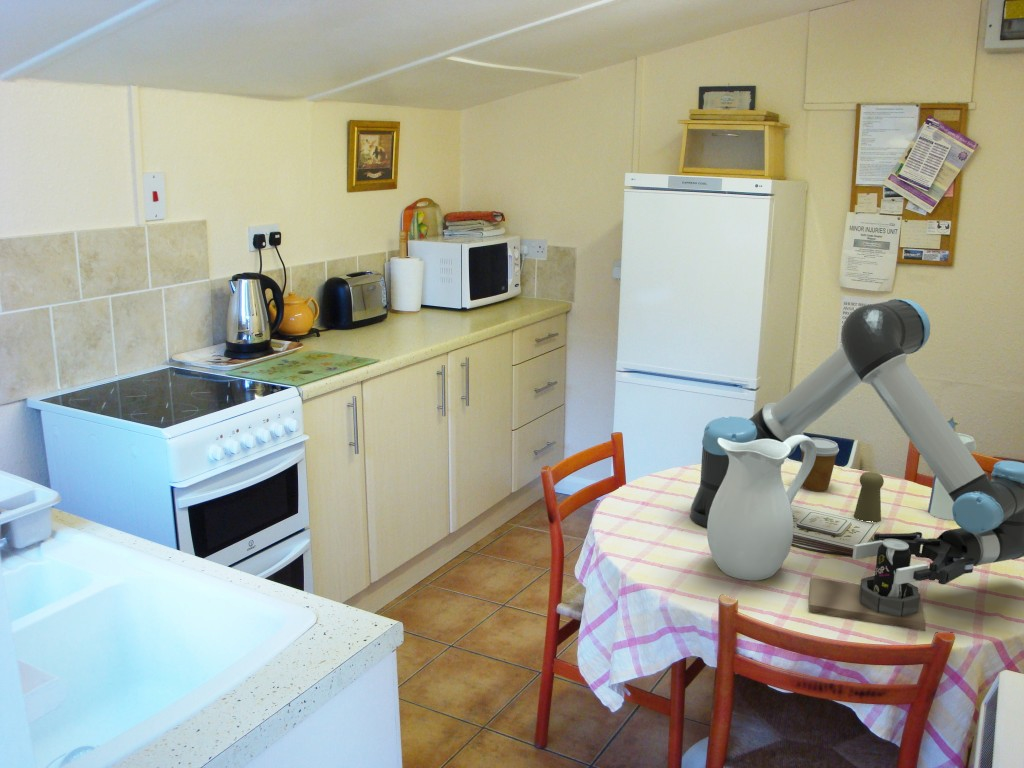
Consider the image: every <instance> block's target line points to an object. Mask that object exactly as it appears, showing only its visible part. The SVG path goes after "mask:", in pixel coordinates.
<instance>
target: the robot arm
mask: <svg viewBox="0 0 1024 768" xmlns="http://www.w3.org/2000/svg"><path fill="white" fill-rule="evenodd" d="M840 335H841V336H840V340H841V341H840V342H841V346H839V348H838V349H836V350H835V351H834V352H833V353H832V354H831V355H830V356H828V357H827V358H826V359H825V360H824V361H823V362H822V363H820V365H818V367H816V368H815V369H814V370H813V371H812V372H811V373H810V374H808V375H807V376H806V377H805V378H804V379H803V380H802V381H800V382H799V383H798V384H797V385H796V386H795V387H793V389H791V390H790V391H789V392H788V393H787V394H785V396H783V397H782V398H781V399H780V400H779V401H777V402H768V403H766V404H765V405H763V407H762V408H760V409H759V410H758V411H757V412H756V413H755V414H753V416H751V417H749V418H746V417H741V416H728V417H725V416H722V417H719V418H715V419H713V420H711V421H710V422H708V423H707V424H706V426H705V427H704V430H703V437H702V441H701V444H702V449H701V452H702V453H701V465H700V466H701V467H700V470H701V471H700V481H699V482H700V483H699V486H698V488H697V489H698V490H697V492H696V494H695V496H694V499H693V501H692V503H691V507H690V518H691V520H692V522H694V523H696V524H697V525H699V526H701V527H703V528H707V523H708V516H709V512H710V508H711V505H712V502H713V500H714V498H715V495H716V493H717V491H718V489H719V488H720V486H721V484H722V482H723V480H724V478H725V475H726V473H727V470H728V466H729V457H728V455H727V453H726V452H725V451H724V450H723V449H722V448H721V447H720V446H719V445H718V442H717V440H718V438H723V439H725V440H728V441H732V442H737V443H747V442H751V441H755V440H759V439H773V440H777V441H780V442H784V441H785V440H786V439H788V438H790V437H791V436H794V435H805V434H804V431H805V430H806V429H807V428H808V427H810V426H811V425H812V424H814V422H816V421H817V420H819V418H821V416H823V415H824V414H825V413H827V412H828V411H829V410H830V409H831V408H832V407H834V406H835V405H836V404H837V403H838V402H840V401H841V400H842V399H843V398H844V397H846V396H847V395H848V394H850V392H851V391H853V390H854V389H855V388H856V387H858V386H859V385H860V384H861V383H864V384H867V385H870V386H871V387H872V388H873V390H874V391H875V393H876V394H877V396H878V397H879V398H880V400H881V401H882V402H883V405H885V406H886V408H887V410H888V411H889V412H890V414H891V415H892V416H893V419H895V421H896V422H897V424H898V425H899V426H900V428H901V429H902V431H903V432H904V433H905V435H906V436H907V438H908V439H909V441H910V442H911V443H912V445H913V446H914V448H916V450H917V452H918V453H919V455H920V456H921V457H922V459H923V460H924V462H925V463H926V464H927V466H928V467H929V468H930V470H931V471H932V473H933V474H934V476H936V477H937V478H938V480H939V481H940V483H941V484H942V485H943V487H944V488H945V490H946V491H947V493H948V494H949V496H950V497H951V499H952V500H953V502H954V504H953V507H952V513H953V518H954V520H953V521H955V524H957V525H958V527H959V528H954V529H953V528H952V529H948V530H945V531H943V532H941V534H940V535H939V536H938V537H936V538H934V537H932V538H924V537H923V533H922V532H920V531H916V532H910V533H909V532H908V533H907V532H906V533H875V534H874V537H873V541H868V542H863V543H857V544H853V550H852V559H853V560H861V559H866V558H872V557H877V553H878V548H879V546H880V545H882V542H883V540H885V539H897V540H901V541H904V542H906V543H907V544H908V545H909V550H910V552H911V556H912V555H914V556H915V557H916V558H919V559H920V558H921V559H929V560H931V561H932V562H931V561H930V562H929V565H928V564H926V563H921V564H916V565H910V566H909V567H904V568H899V569H897V570H896V578H895V583H896V584H903V583H912V582H914V583H915V582H918V581H919V582H921V581H925V580H929V581H932V582H933V581H936V580H937V581H938V583H939V584H940V585H946V584H949V583H950V582H952V581H954V580H955V579H957V578H960V577H961V576H963V575H965V574H971V573H973V570H974V567H977V566H982V565H987V564H994V563H999V562H1003V561H1004V562H1005V561H1010V560H1018V559H1021V558H1024V463H1023V462H1020V461H1015V460H1000V461H997V462H995V463H994V465H993V467H992V468H993V469H992V472H991V473H990V476H991V477H990V478H989V477H988V475H987V474H986V473H985V471H984V470H983V469H982V467H981V465H980V464H979V463H978V461H977V460H976V459H975V457H974V456H973V455H972V453H970V452H969V450H968V449H967V448H966V446H965V445H964V443H963V442H962V441H961V439H960V438H959V436H958V435H957V434H956V433H957V432H956V430H955V431H954V430H953V428H952V427H951V425H950V424H949V423H948V421H947V420H948V419H947V418H946V417H945V416H944V414H943V413H942V412H941V410H940V409H939V407H938V406H937V405H936V403H935V402H934V400H933V399H932V397H931V396H930V394H929V393H928V392H927V391H926V389H925V388H924V386H923V385H922V384H921V383H920V381H919V380H918V378H917V377H916V376H915V374H914V373H913V371H912V369H910V367H909V366H908V364H907V362H906V360H907V356H908V355H911V354H915V353H916V352H918V351H919V350H920V349H922V348H923V347H924V346H925V345H926V343H927V342H928V341H929V338H930V335H931V321H930V318H929V316H928V314H927V312H926V311H925V309H924V308H923V307H922V306H921V305H919V304H918V303H917V302H914V301H912V300H910V299H906V298H905V299H904V298H903V299H901V298H893V299H889V300H887V301H883V302H877V303H872V304H865V305H863V306H860V307H857V308H856V309H855V310H853V311H852V312H850V314H849V315H848V316H847V317H846V319H845V320H844V322H843V324H842V328H841V332H840ZM797 447H798V445H797V446H795V447H794V448H793V449H792V450H791V452H790V454H789V455H788V456H787V457H786V458H785V460H786V459H787V458H789V457H790V456H791V455H792V454H793V453H794V452H795V451H796V449H797ZM921 545H922V546H921ZM928 566H929V568H928Z"/></svg>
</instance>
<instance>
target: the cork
mask: <svg viewBox="0 0 1024 768" xmlns="http://www.w3.org/2000/svg"><path fill="white" fill-rule="evenodd" d="M859 483H860V486H861V487H860V491H859V494H858V498H857V502H856V506H855V509H854V514H853V517H854V519H856V520H858V519H859V520H858V521H860V520H863V521H871V522H872V521H873V522H876V523H879V522H881V521H882V509H881V507H882V506H881V505H882V503H881V502H882V501H881V498H882V497H881V488H883V486H884V483H885V481H884V477H883V475H882V474H880V473H878V472H874V471H873V472H872V471H866V472H863V473H862V474H861V475H860V478H859ZM863 521H862V522H863Z"/></svg>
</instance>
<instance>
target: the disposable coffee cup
mask: <svg viewBox="0 0 1024 768" xmlns="http://www.w3.org/2000/svg"><path fill="white" fill-rule="evenodd" d="M809 438H810V439H812V440H813V441H814V443H815V445H816V450H817V453H816V459H815V462H814V465H813V467H812V469H811V471H810V473H809V474H808V476H807V478H806V479H805V481H804V483H803V484H802V487H803V488H804V489H806V490H808V491H813V492H826V491H828V490H829V487H830V483H831V478H832V474H833V471H834V467H835V463H836V459H837V455H838V453H839V451H840V449H839V445H838V443H837V442H836V441H834V440H831V439H827V438H824V437H823V438H822V437H809ZM799 448H800V450H801V463H802V462H803V459H804V453H805V447H804V444H803V443H802V444H799Z"/></svg>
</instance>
